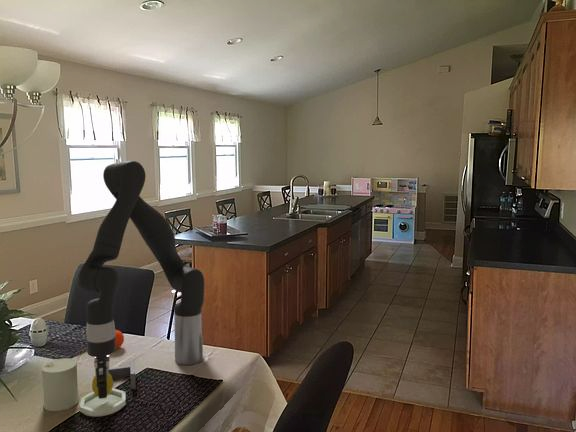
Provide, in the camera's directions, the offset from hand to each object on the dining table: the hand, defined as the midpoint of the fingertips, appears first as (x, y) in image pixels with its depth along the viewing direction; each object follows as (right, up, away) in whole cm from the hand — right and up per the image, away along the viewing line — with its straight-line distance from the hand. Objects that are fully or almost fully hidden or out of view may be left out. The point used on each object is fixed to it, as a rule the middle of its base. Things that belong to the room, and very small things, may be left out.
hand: (103, 392), depth 134 cm
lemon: (0, -2, 0) cm, 2 cm away
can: (-13, -4, +1) cm, 13 cm away
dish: (0, -4, 0) cm, 4 cm away
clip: (0, -2, +13) cm, 13 cm away
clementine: (-12, +1, +39) cm, 41 cm away
